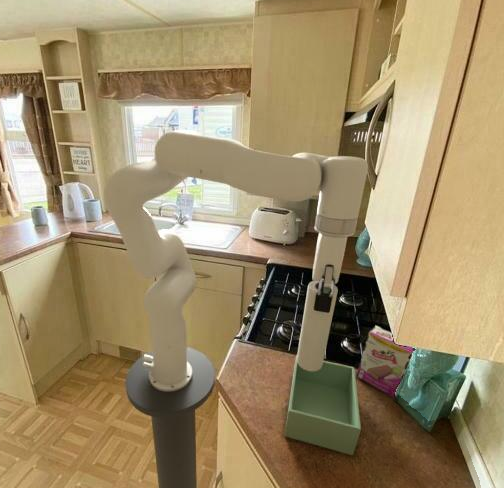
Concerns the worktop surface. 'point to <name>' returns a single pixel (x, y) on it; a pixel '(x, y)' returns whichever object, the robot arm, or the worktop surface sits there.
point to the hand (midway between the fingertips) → (321, 300)
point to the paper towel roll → (314, 330)
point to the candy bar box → (383, 361)
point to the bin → (324, 407)
